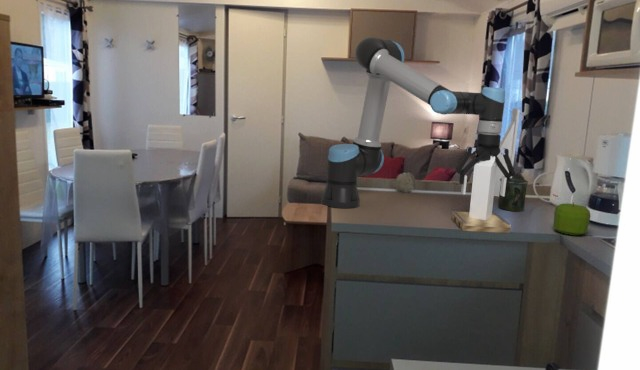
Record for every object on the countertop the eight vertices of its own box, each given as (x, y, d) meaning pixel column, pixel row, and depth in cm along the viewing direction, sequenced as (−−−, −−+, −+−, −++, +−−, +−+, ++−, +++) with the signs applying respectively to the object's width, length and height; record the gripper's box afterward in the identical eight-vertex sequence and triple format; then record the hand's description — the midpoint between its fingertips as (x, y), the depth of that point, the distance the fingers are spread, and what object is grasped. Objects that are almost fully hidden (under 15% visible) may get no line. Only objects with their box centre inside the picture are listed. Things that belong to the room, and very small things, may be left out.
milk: (475, 214, 189) (481, 153, 185) (491, 217, 186) (498, 155, 182) (468, 217, 184) (474, 154, 180) (485, 220, 181) (492, 156, 177)
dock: (462, 230, 178) (463, 221, 177) (451, 219, 193) (451, 210, 193) (509, 233, 178) (510, 224, 177) (494, 221, 194) (495, 212, 193)
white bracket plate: (474, 189, 259) (483, 106, 252) (505, 191, 256) (514, 108, 248) (476, 196, 240) (485, 107, 233) (509, 199, 236) (519, 109, 229)
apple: (556, 236, 177) (560, 204, 175) (548, 228, 188) (552, 198, 186) (591, 239, 176) (596, 207, 174) (581, 231, 186) (586, 200, 184)
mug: (520, 207, 222) (524, 178, 220) (530, 215, 208) (534, 185, 205) (494, 205, 223) (497, 177, 221) (501, 212, 209) (505, 183, 206)
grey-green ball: (412, 197, 243) (422, 177, 241) (403, 196, 237) (412, 176, 234) (397, 187, 249) (406, 168, 246) (387, 186, 242) (397, 167, 240)
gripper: (455, 132, 176) (449, 194, 180) (530, 136, 176) (522, 198, 180) (450, 130, 183) (444, 190, 187) (521, 134, 183) (514, 194, 187)
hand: (482, 194), depth 184 cm, fingers open, 13 cm apart
